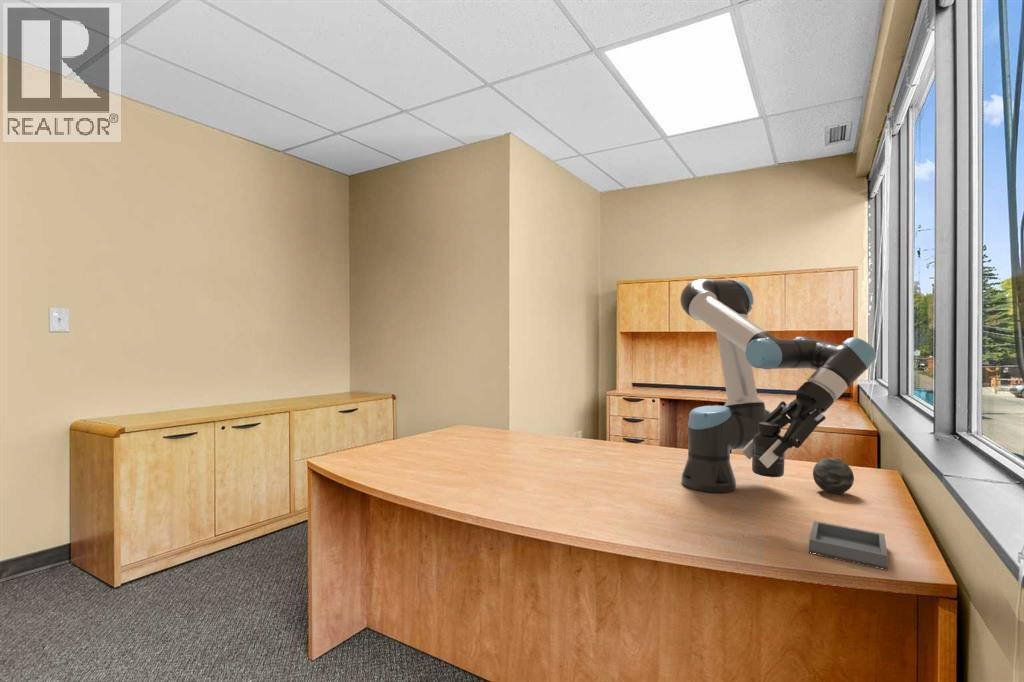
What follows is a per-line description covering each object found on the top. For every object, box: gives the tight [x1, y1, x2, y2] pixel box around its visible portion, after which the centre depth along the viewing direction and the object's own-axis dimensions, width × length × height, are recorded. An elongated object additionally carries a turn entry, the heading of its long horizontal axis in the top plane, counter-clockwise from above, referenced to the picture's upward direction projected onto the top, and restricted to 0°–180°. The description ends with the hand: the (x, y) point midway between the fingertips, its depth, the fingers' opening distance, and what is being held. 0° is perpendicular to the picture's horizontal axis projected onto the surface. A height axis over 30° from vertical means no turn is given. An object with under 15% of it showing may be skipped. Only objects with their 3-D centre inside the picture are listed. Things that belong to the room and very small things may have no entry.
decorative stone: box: [812, 457, 855, 495], centre depth 144 cm, size 10×10×10 cm
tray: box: [808, 520, 889, 570], centre depth 106 cm, size 13×13×3 cm
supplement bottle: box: [751, 422, 786, 478], centre depth 119 cm, size 7×7×12 cm
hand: (754, 459), depth 119 cm, fingers closed on supplement bottle, 7 cm apart
